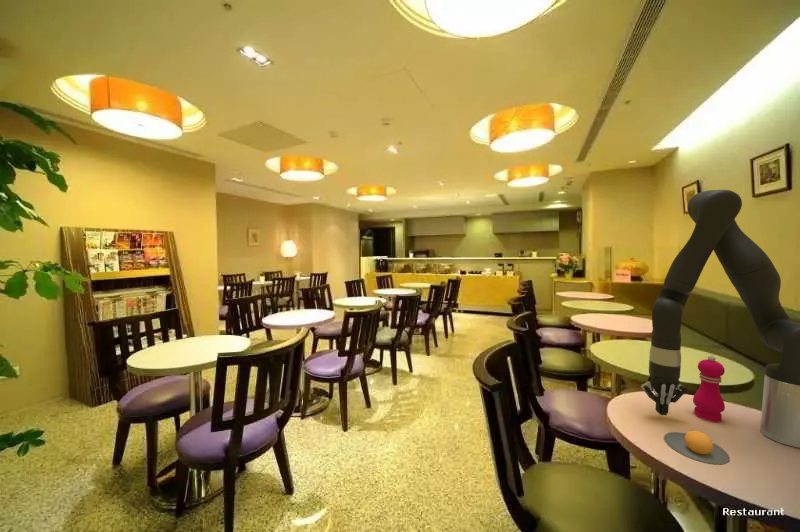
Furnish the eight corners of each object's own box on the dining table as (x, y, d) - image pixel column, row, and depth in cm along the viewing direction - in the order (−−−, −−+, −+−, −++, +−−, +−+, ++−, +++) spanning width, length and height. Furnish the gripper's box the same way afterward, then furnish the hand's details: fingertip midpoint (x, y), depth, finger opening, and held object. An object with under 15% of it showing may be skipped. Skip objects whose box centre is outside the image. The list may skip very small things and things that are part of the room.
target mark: (700, 433, 91) (700, 433, 91) (745, 465, 79) (745, 465, 78) (652, 431, 93) (652, 431, 93) (688, 463, 80) (688, 462, 80)
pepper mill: (730, 424, 96) (735, 360, 94) (702, 422, 97) (707, 359, 95) (712, 411, 103) (716, 352, 101) (686, 409, 104) (690, 350, 102)
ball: (698, 441, 87) (702, 425, 85) (716, 458, 82) (721, 442, 80) (677, 442, 87) (681, 426, 85) (694, 459, 82) (699, 443, 80)
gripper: (650, 365, 95) (647, 419, 96) (697, 366, 93) (694, 421, 95) (634, 355, 102) (631, 406, 104) (678, 356, 101) (675, 408, 102)
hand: (661, 413), depth 99 cm, fingers closed
